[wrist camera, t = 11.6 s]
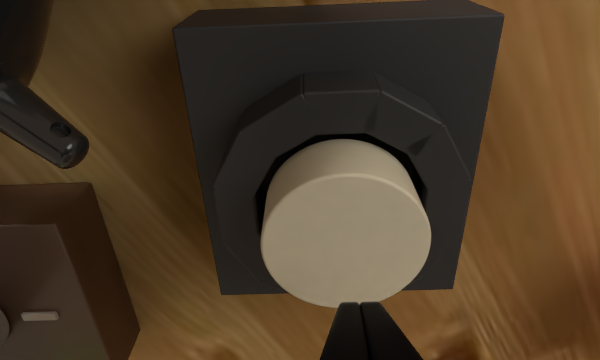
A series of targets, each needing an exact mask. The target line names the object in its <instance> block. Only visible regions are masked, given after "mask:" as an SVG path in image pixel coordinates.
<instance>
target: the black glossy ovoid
mask: <svg viewBox="0 0 600 360" xmlns="http://www.w3.org/2000/svg"><path fill="white" fill-rule="evenodd" d="M52 6H53V0H0V132H1V133H3V134H4V135H6V136H8V137H9V138H11V139H13V140H14V141H16V142H18V143H19V144H21V145H22V146H24V147H26V148H27V149H29V150H31V151H32V152H34V153H36V154H37V155H39V156H41V157H42V158H44V159H46V160H47V161H49V162H51V163H52V164H54V165H55V166H57V167H59V168H62V169H68V168H72V167H74V166H76V165H78V164H79V163H80V162H81V161H82V160H83V159H84V158H85V156H86V155H87V153H88V150H89V141H88V139H87V137H86V136H85V135H83V134H82V133H81V132H80V131H79V130H78V129H76V128H75V127H74V126H73V125H72V124H71V123H69V122H68V121H67V120H66V119H65V118H64V117H62V116H61V115H60V114H59V113H58V112H56V111H55V110H54V109H53V108H52V107H51V106H49V105H48V104H47V103H46V102H45V101H44V100H42V99H41V98H40V97H39V96H38V95H37V94H35V93H34V92H33V91H32V90H31V89H30V88H28V86H29V84H30V82H31V80H32V78H33V76H34V74H35V72H36V70H37V67H38V65H39V62H40V59H41V56H42V52H43V49H44V45H45V41H46V36H47V32H48V27H49V22H50V17H51V12H52Z"/></svg>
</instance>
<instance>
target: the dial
mask: <svg viewBox="0 0 600 360" xmlns="http://www.w3.org/2000/svg"><path fill="white" fill-rule="evenodd" d="M9 330H10V329H9V323H8V320H7V318H6V316H5V314H4V313H3V312H2V310H1V309H0V348H1V346H2V345H3V344H4V342H5V341H6V340H7V338H8V336H9Z"/></svg>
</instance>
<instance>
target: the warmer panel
mask: <svg viewBox="0 0 600 360" xmlns="http://www.w3.org/2000/svg"><path fill="white" fill-rule="evenodd" d="M0 309H1V310H2V312H3V313H4V314H5V316H6V318H7V320H8V323H9V329H10V330H9V336H8V338H7V340H6V341H5V342H4V344H3V345H2V346H1V348H0V360H128V358H129V356H130V353H131V351H132V349H133V346H134V344H135V341H136V339H137V337H138V334H139V332H140V328H139V325H138V322H137V319H136V316H135V313H134V310H133V307H132V304H131V301H130V298H129V295H128V292H127V289H126V286H125V283H124V280H123V277H122V274H121V271H120V268H119V265H118V262H117V259H116V256H115V253H114V250H113V247H112V244H111V241H110V238H109V235H108V232H107V229H106V226H105V223H104V220H103V217H102V214H101V211H100V208H99V205H98V202H97V199H96V196H95V193H94V190H93V187H92V184H91V183H62V184H31V185H1V186H0Z"/></svg>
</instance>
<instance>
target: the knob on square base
mask: <svg viewBox="0 0 600 360" xmlns="http://www.w3.org/2000/svg"><path fill="white" fill-rule="evenodd" d="M503 21H504V14H502V13H500V12H497V11H495V10H492V9H489V8H487V7H484V6H482V5H479V4H476V3H474V2H471V1H469V0H426V1H403V2H380V3H357V4H334V5H311V6H288V7H265V8H242V9H219V10H198V11H196V12H195V13H194V14H192V15H191V16H189V17H188V18H187V19H185V20H184V21H182V22H181V23H179V24H178V25H177V26H175V27H174V28H173V29H172V32H173V37H174V42H175V48H176V53H177V59H178V64H179V69H180V75H181V80H182V86H183V91H184V97H185V102H186V107H187V113H188V118H189V124H190V129H191V134H192V140H193V145H194V151H195V156H196V161H197V167H198V172H199V178H200V183H201V188H202V194H203V199H204V205H205V210H206V216H207V221H208V226H209V232H210V237H211V243H212V248H213V253H214V259H215V264H216V270H217V275H218V280H219V286H220V291H221V295H240V294H280V293H288V292H287V291H286V290H285V289H283V288H282V287H281V286H280V285H279V284H278V283H277V282H276V281H275V280H274V278H273V277H272V276H271V275H270V273H269V271H268V269H267V267H266V266H265V263H264V260H263V258H262V253H261V233H262V226H263V219H264V212H265V204H266V197H267V191H268V188H269V185H270V183H271V180H272V178H273V176H274V175H275V173H276V172H277V170H278V169H279V168H280V167H281V165H282V164H283V163H284V162H285V161H286V160H288V159H289V158H290V157H291V156H292V155H294V154H295V153H297V152H298V151H300V150H302V149H304V148H306V147H308V146H310V145H313V144H316V143H319V142H323V141H327V140H335V139H352V140H359V141H364V142H367V143H371V144H373V145H376V146H378V147H380V148H382V149H384V150H386V151H387V152H389V153H390V154H391V155H393V156H394V157H395V158H396V159H397V160H398V161H399V162H400V163H401V164H402V165H403V166H404V168H405V169H406V171H407V172H408V174H409V177H410V179H411V181H412V183H413V185H414V188H415V190H416V192H417V194H418V197H419V199H420V201H421V203H422V206H423V208H424V210H425V212H426V215H427V217H428V220H429V224H430V229H431V245H430V249H429V254H428V256H427V259H426V261H425V263H424V265H423V267H422V269H421V270H420V272H419V273H418V274H417V276H416V277H415V278H414V279H413V280H412V281H411V282H410V283H409V284H408V285H407V286H405V287H404V288H403V289H402V290H437V289H453V285H454V280H455V274H456V269H457V264H458V258H459V253H460V248H461V243H462V237H463V232H464V227H465V222H466V216H467V211H468V206H469V200H470V195H471V190H472V185H473V179H474V174H475V169H476V164H477V158H478V153H479V148H480V142H481V137H482V132H483V127H484V121H485V116H486V111H487V106H488V100H489V95H490V90H491V84H492V79H493V74H494V69H495V63H496V58H497V53H498V48H499V42H500V37H501V32H502V26H503ZM288 294H290V293H288ZM291 295H292V294H291Z"/></svg>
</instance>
